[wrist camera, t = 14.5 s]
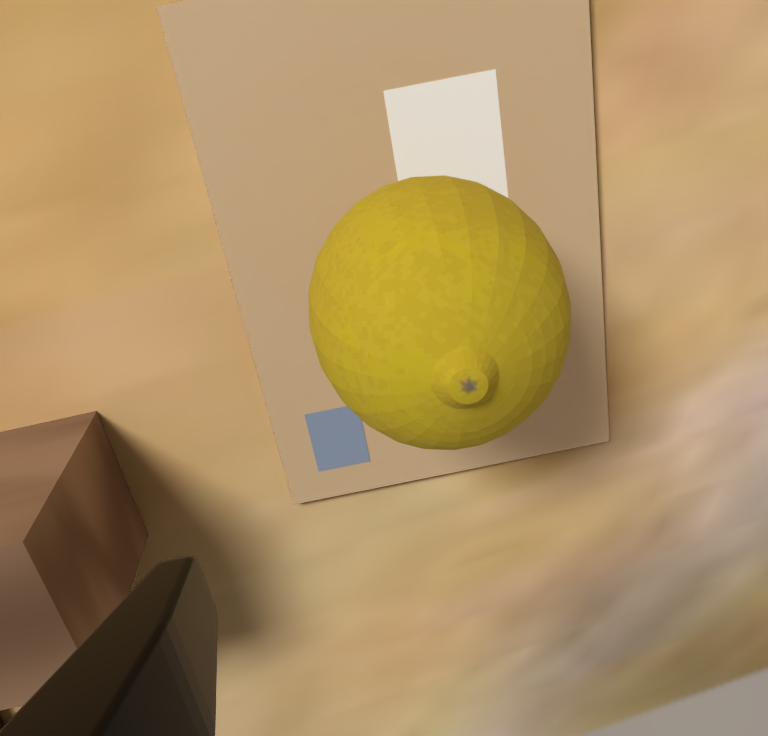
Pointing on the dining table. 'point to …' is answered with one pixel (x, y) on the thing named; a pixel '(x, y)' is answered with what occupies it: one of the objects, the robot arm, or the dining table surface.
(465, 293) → the lemon
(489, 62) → the envelope
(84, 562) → the walnut block
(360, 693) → the dining table surface
